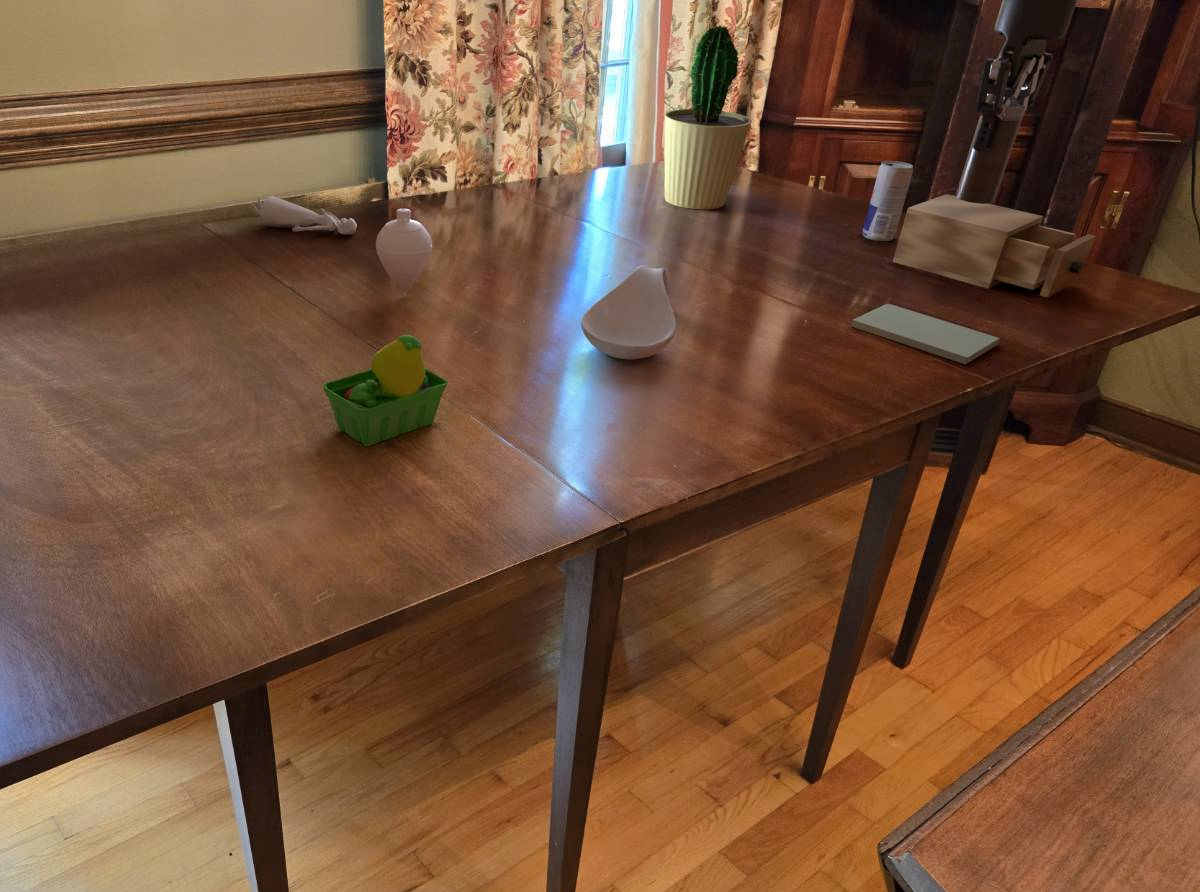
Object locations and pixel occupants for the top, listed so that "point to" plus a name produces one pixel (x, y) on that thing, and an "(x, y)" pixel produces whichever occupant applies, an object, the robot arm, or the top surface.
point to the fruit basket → (387, 394)
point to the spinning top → (404, 249)
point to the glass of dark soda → (989, 161)
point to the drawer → (1043, 259)
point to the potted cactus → (705, 129)
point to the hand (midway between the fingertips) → (991, 147)
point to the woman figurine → (299, 217)
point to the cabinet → (959, 238)
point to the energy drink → (887, 200)
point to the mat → (926, 333)
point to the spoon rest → (632, 316)
